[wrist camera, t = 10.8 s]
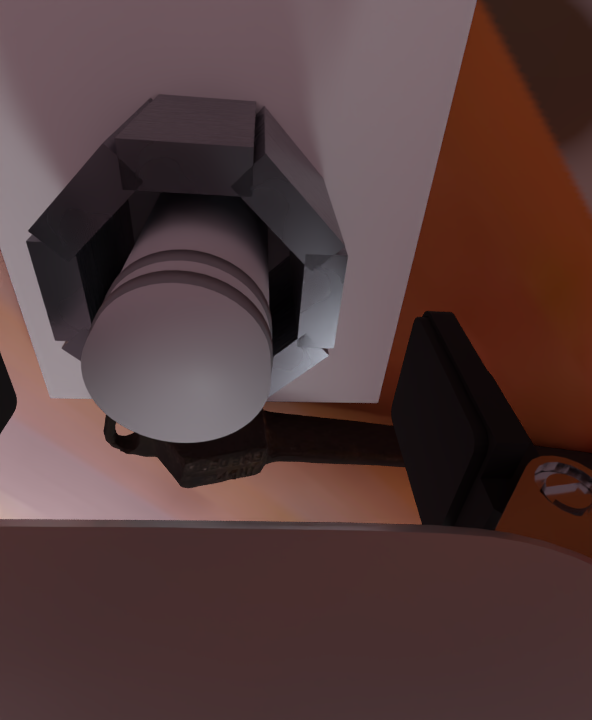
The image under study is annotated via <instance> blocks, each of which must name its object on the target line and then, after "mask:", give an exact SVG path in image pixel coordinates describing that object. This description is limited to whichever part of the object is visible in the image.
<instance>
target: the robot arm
mask: <svg viewBox="0 0 592 720" xmlns="http://www.w3.org/2000/svg"><path fill="white" fill-rule="evenodd" d="M16 405H17V397H16V394H15V391H14V388H13V386H12V383H11V380H10V377H9V375H8V372H7V369H6V367H5V364H4V361H3V359H2V356H1V353H0V433H1V432H2V430H3V429H4V427H5V426H6V424H7V422H8V421H9V419H10V418H11V416H12V415H13V413H14V411H15V409H16ZM391 416H392V422H393V426H394V429H395V433H396V436H397V440H398V443H399V446H400V450H401V453H402V457H403V460H404V464H405V467H406V471H407V474H408V477H409V481H410V484H411V488H412V491H413V495H414V498H415V502H416V505H417V508H418V512H419V515H420V519H421V522H422V525H414V524H380V523H341V522H266V521H180V520H53V519H0V720H592V470H590V469H588V468H587V467H585V466H583V465H582V464H580V463H578V462H575V461H572V460H570V459H567V458H563V457H558V456H540V455H539V453H538V452H537V450H536V448H535V447H534V445H533V443H532V442H531V440H530V438H529V437H528V435H527V433H526V432H525V430H524V428H523V427H522V425H521V423H520V422H519V420H518V418H517V416H516V415H515V413H514V411H513V410H512V408H511V406H510V405H509V403H508V401H507V400H506V398H505V396H504V395H503V393H502V391H501V390H500V388H499V386H498V385H497V383H496V381H495V380H494V378H493V376H492V375H491V374H490V373H489V372H488V371H487V369H486V368H485V366H484V364H483V363H482V361H481V359H480V358H479V356H478V354H477V353H476V351H475V349H474V348H473V346H472V344H471V342H470V341H469V339H468V337H467V336H466V334H465V332H464V331H463V329H462V327H461V326H460V324H459V322H458V321H457V319H456V317H455V316H454V314H453V313H452V312H436V311H426V312H425V313H424V314H423V316H422V317H417V318H416V319H415V320H414V323H413V327H412V331H411V335H410V338H409V342H408V346H407V350H406V354H405V358H404V361H403V365H402V369H401V373H400V377H399V381H398V385H397V388H396V392H395V396H394V400H393V404H392V410H391Z"/></svg>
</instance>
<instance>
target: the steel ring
mask: <svg viewBox="0 0 592 720" xmlns="http://www.w3.org/2000/svg"><path fill="white" fill-rule="evenodd" d="M135 191H152V192H170V193H188V194H206V195H224V196H240V197H241V198H242V199H243V200H244V201H245V202H246V204H247V205H248V206H249V207H250V208H251V209H252V210H253V211H254V212H255V213H256V214H257V215H258V216H259V217H260V218H261V219H262V220H263V221H264V222H265V224H266V225H267V226H268V227H269V228H270V229H271V230H272V231H273V232H274V233H275V234H276V235H277V236H278V237H279V238H280V239H281V240H282V241H283V242H284V243H285V245H286V246H287V247H288V248H289V249H290V250H289V256H288V257H287V258H285V259H284V260H283V261H282V262H281V263H279V264H278V265H277V266H276V267H274V268H273V269H272V270H271V271H270V272H269V308H270V312H271V317H272V343H273V367H272V373H271V386H270V392H269V395H268V397H270V396H271V395H273V394H274V393H276V392H277V391H279V390H280V389H281V388H283V387H284V386H286V385H287V384H289V383H290V382H291V381H293V380H294V379H296V378H297V377H299V376H300V375H302V374H303V373H304V372H306V371H307V370H309V369H310V368H312V367H313V366H315V365H316V364H317V363H319V362H320V361H322V360H323V359H325V358H326V357H328V356H329V353H328V348H334V344H335V337H336V331H337V324H338V318H339V312H340V305H341V299H342V292H343V286H344V279H345V273H346V266H347V260H348V254H347V251H346V248H345V243H344V240H343V237H342V234H341V231H340V228H339V225H338V222H337V219H336V216H335V213H334V210H333V207H332V204H331V200H330V197H329V194H328V191H327V188H326V185H325V182H324V179H323V177H322V176H321V175H320V174H319V172H318V171H317V170H316V169H315V167H314V166H313V165H312V164H311V163H310V161H309V160H308V159H307V158H306V156H305V155H304V154H303V153H302V151H301V150H300V149H299V148H298V147H297V145H296V144H295V143H294V142H293V140H292V139H291V138H290V137H289V135H288V134H287V133H286V132H285V131H284V129H283V128H282V127H281V126H280V124H279V123H278V122H277V121H276V119H275V118H274V117H273V116H272V115H271V113H270V112H269V111H268V110H267V108H266V107H265V106H264V107H263V108H262V109H261V110H260V111H259V112H258V113H257V114H256V101H245V100H231V99H218V98H205V97H191V96H178V95H164V94H159V95H158V96H157V97H156V98H155V99H154V100H152V99H151V98H149V99H148V100H147V101H146V102H145V103H144V104H143V105H142V106H141V107H140V108H139V109H138V110H137V111H136V112H135V113H134V114H133V115H132V116H131V117H129V118H128V119H127V120H126V121H125V122H124V123H123V124H122V125H121V126H120V127H119V128H118V129H117V130H116V131H115V132H114V133H113V134H112V135H111V136H109V137H108V138H107V139H106V140H105V141H104V142H103V143H102V144H101V146H100V147H99V148H98V149H97V150H96V151H95V153H94V154H93V155H92V156H91V157H90V158H89V160H88V161H87V162H86V163H85V164H84V165H83V167H82V168H81V169H80V170H79V171H78V173H77V174H76V175H75V176H74V177H73V178H72V180H71V181H70V182H69V183H68V184H67V185H66V187H65V188H64V189H63V190H62V191H61V192H60V194H59V195H58V196H57V197H56V198H55V199H54V201H53V202H52V203H51V204H50V205H49V206H48V208H47V209H46V210H45V211H44V212H43V213H42V215H41V216H40V217H39V218H38V219H37V221H36V222H35V223H34V224H33V225H32V226H31V228H30V229H29V230H28V232H29V233H31V234H32V235H31V236H30V237H29V238H28V239H27V240H26V244H27V247H28V251H29V254H30V257H31V261H32V264H33V268H34V271H35V274H36V278H37V281H38V285H39V288H40V291H41V295H42V298H43V302H44V305H45V308H46V312H47V315H48V319H49V322H50V326H51V329H52V332H53V336H54V339H55V341H65V343H64V345H63V346H62V348H61V349H63V350H64V351H66V352H67V353H69V354H70V355H72V356H73V357H75V358H77V359H78V360H80V361H81V356H82V351H83V348H84V345H85V342H86V340H87V338H88V335H89V330H90V327H91V325H92V322H93V320H94V318H95V316H96V314H97V312H98V310H99V308H100V307H101V305H102V303H103V301H104V299H105V296H106V294H107V293H108V291H109V289H110V287H111V285H112V283H113V282H114V280H115V278H116V277H117V276H118V275H119V274H120V273H121V271H122V269H123V267H124V265H125V263H126V261H127V259H128V257H129V255H130V253H131V251H132V249H133V247H134V245H135V243H134V236H133V229H132V222H131V215H130V208H129V201H128V198H129V197H130V196H131V195H132V194H133V193H134V192H135Z"/></svg>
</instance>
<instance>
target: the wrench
mask: <svg viewBox="0 0 592 720" xmlns="http://www.w3.org/2000/svg"><path fill="white" fill-rule="evenodd" d="M115 424H116V421H114V420H113V419H111V418H110V417H109V416H108V415H107V414H106V418H105V426H104V435H105V439H106V441H107V442H108V443H109V444H110V445H111V446H112V447H115V448H117V449H120V451H123V452H125V453H126V454H136V455H140V456H145V457H158V459H159V460H160V461H161V462H162V463H163V465H164V466H165V467H166V468H167V469H168V471H169V472H170V473H171V474H172V475H173V477H174V478H175V479H176V480H177V482H178V483H179V485H180V486H181V487H184V488H193V487H197V486H202V485H208V484H213V483H218V482H223V481H226V480H230V479H236V478H241V477H246V476H252V475H256V474H258V473H260V472H261V470H262V468H263V467H264V466H265V464H268V463H271V462H276V461H288V462H310V463H329V464H358V465H381V466H395V467H405V464H404V460H403V457H402V453H401V450H400V446H399V443H398V440H397V436H396V433H395V429H394V426H389V425H382V424H373V423H366V422H357V421H348V420H340V419H330V418H320V417H312V416H302V415H293V414H284V413H275V412H268V411H264V410H263V409H261V411H260V412H259V413H258V415H257V416H256V417H255V418H254V419H253V420H252V421H250V422H249V423H248V424H247V425H245V426H244V427H242V428H241V429H239V430H237V431H236V432H233V433H232V434H229V435H227V436H224V437H221V438H218V439H214V440H209V441H204V442H196V443H178V442H168V441H162V440H157V439H153V438H150V437H146V436H143V435H140V434H138V433H136V432H134V433H132V434H130V435H127V436H120V435H118V434H117V433H116V430H115ZM534 447H535V448H536V450H537V452H538V453H539V455H540V456H558V457H563V458H567V459H570V460H572V461H575V462H578V463H580V464H582V465H583V466H585V467H587V468H588V469H590V470H592V453H585V452H578V451H570V450H563V449H556V448H547V447H540V446H534Z"/></svg>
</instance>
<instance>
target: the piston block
mask: <svg viewBox="0 0 592 720" xmlns="http://www.w3.org/2000/svg"><path fill="white" fill-rule="evenodd" d="M476 2H477V0H0V249H1V252H2V255H3V258H4V261H5V264H6V267H7V270H8V273H9V276H10V279H11V282H12V285H13V288H14V291H15V294H16V297H17V300H18V303H19V306H20V309H21V312H22V315H23V318H24V321H25V324H26V327H27V330H28V333H29V336H30V339H31V341H32V344H33V347H34V350H35V353H36V356H37V359H38V362H39V365H40V368H41V371H42V374H43V377H44V380H45V383H46V386H47V389H48V392H49V395H50V398H74V399H93V400H94V401H95V403H96V404H97V405H98V406H99V407H100V409H101V410H102V411H103V412H104V413H106V414H107V415H108V416H109V417H110V418H111V419H113V420H114V421H116V422H117V423H119V424H120V425H122V426H124V427H125V428H127V429H129V430H131V431H133V432H136V433H138V434H140V435H143V436H146V437H150V438H153V439H157V440H162V441H168V442H178V443H196V442H204V441H209V440H214V439H218V438H221V437H224V436H227V435H229V434H231V433H233V432H236V431H237V430H239V429H241V428H242V427H244V426H245V425H247V424H248V423H249V422H250V421H252V420H253V419H254V418H255V417H256V416H257V415H258V413H259V412H260V411H261V409H262V408H263V406H264V404H265V402H266V401H273V402H339V403H378V401H379V397H380V392H381V388H382V384H383V380H384V376H385V372H386V368H387V364H388V360H389V356H390V352H391V348H392V344H393V340H394V335H395V331H396V327H397V323H398V319H399V315H400V311H401V307H402V303H403V299H404V295H405V291H406V287H407V283H408V279H409V274H410V270H411V266H412V262H413V258H414V254H415V250H416V246H417V242H418V238H419V234H420V230H421V226H422V222H423V217H424V213H425V209H426V205H427V201H428V197H429V193H430V189H431V185H432V181H433V177H434V173H435V169H436V165H437V160H438V156H439V152H440V148H441V144H442V140H443V136H444V132H445V128H446V124H447V120H448V116H449V112H450V108H451V104H452V99H453V95H454V91H455V87H456V83H457V79H458V75H459V71H460V67H461V63H462V59H463V55H464V51H465V47H466V42H467V38H468V34H469V30H470V26H471V22H472V18H473V14H474V10H475V6H476ZM159 94H164V95H178V96H191V97H205V98H218V99H231V100H245V101H256V114H257V113H258V112H259V111H260V110H261V109H262V108H263V107H264V106H265V107H266V108H267V110H268V111H269V112H270V113H271V115H272V116H273V117H274V118H275V119H276V121H277V122H278V123H279V124H280V126H281V127H282V128H283V129H284V131H285V132H286V133H287V134H288V135H289V137H290V138H291V139H292V140H293V142H294V143H295V144H296V145H297V147H298V148H299V149H300V150H301V151H302V153H303V154H304V155H305V156H306V158H307V159H308V160H309V161H310V163H311V164H312V165H313V166H314V167H315V169H316V170H317V171H318V172H319V174H320V175H321V176H322V177H323V179H324V182H325V185H326V188H327V191H328V194H329V197H330V200H331V204H332V207H333V210H334V213H335V216H336V219H337V222H338V225H339V228H340V231H341V234H342V237H343V240H344V243H345V248H346V251H347V254H348V260H347V266H346V273H345V279H344V286H343V292H342V299H341V305H340V312H339V318H338V324H337V331H336V337H335V344H334V348H328V353H329V356H328V357H326V358H325V359H323V360H322V361H320V362H319V363H317V364H316V365H315V366H313V367H312V368H310V369H309V370H307V371H306V372H304V373H303V374H302V375H300V376H299V377H297V378H296V379H294V380H293V381H291V382H290V383H289V384H287V385H286V386H284V387H283V388H281V389H280V390H279V391H277V392H276V393H274V394H273V395H271V396H270V397H268V395H269V392H270V386H271V373H272V367H273V343H272V317H271V312H270V308H269V272H270V271H271V270H272V269H273V268H274V267H276V266H277V265H278V264H279V263H281V262H282V261H283V260H284V259H285V258H287V257H288V256H289V250H290V249H289V248H288V247H287V246H286V245H285V243H284V242H283V241H282V240H281V239H280V238H279V237H278V236H277V235H276V234H275V233H274V232H273V231H272V230H271V229H270V228H269V227H268V226H267V225H266V224H265V222H264V221H263V220H262V219H261V218H260V217H259V216H258V215H257V214H256V213H255V212H254V211H253V210H252V209H251V208H250V207H249V206H248V205H247V204H246V202H245V201H244V200H243V199H242V198H241V197H240V196H224V195H206V194H188V193H170V192H152V191H135V192H134V193H133V194H132V195H131V196H130V197H129V198H128V201H129V208H130V215H131V222H132V229H133V236H134V243H135V245H134V247H133V249H132V251H131V253H130V255H129V257H128V259H127V261H126V263H125V265H124V267H123V269H122V271H121V273H120V274H119V275H118V276H117V277H116V278H115V280H114V282H113V283H112V285H111V287H110V289H109V291H108V293H107V294H106V296H105V299H104V301H103V303H102V305H101V307H100V308H99V310H98V312H97V314H96V316H95V318H94V320H93V322H92V325H91V327H90V330H89V335H88V338H87V340H86V342H85V345H84V348H83V351H82V356H81V361H80V360H78V359H77V358H75V357H73V356H72V355H70V354H69V353H67V352H66V351H64V350H63V349H61V348H62V346H63V345H64V343H65V341H55V339H54V336H53V332H52V329H51V326H50V322H49V319H48V315H47V312H46V308H45V305H44V302H43V298H42V295H41V291H40V288H39V285H38V281H37V278H36V274H35V271H34V268H33V264H32V261H31V257H30V254H29V251H28V247H27V244H26V240H27V239H28V238H29V237H30V236H31V235H32V234H31V233H29V232H28V230H29V229H30V228H31V226H32V225H33V224H34V223H35V222H36V221H37V219H38V218H39V217H40V216H41V215H42V213H43V212H44V211H45V210H46V209H47V208H48V206H49V205H50V204H51V203H52V202H53V201H54V199H55V198H56V197H57V196H58V195H59V194H60V192H61V191H62V190H63V189H64V188H65V187H66V185H67V184H68V183H69V182H70V181H71V180H72V178H73V177H74V176H75V175H76V174H77V173H78V171H79V170H80V169H81V168H82V167H83V165H84V164H85V163H86V162H87V161H88V160H89V158H90V157H91V156H92V155H93V154H94V153H95V151H96V150H97V149H98V148H99V147H100V146H101V144H102V143H103V142H104V141H105V140H106V139H107V138H108V137H109V136H111V135H112V134H113V133H114V132H115V131H116V130H117V129H118V128H119V127H120V126H121V125H122V124H123V123H124V122H125V121H126V120H127V119H128V118H129V117H131V116H132V115H133V114H134V113H135V112H136V111H137V110H138V109H139V108H140V107H141V106H142V105H143V104H144V103H145V102H146V101H147V100H148V99H149V98H151V99H152V100H154V99H155V98H156V97H157V96H158V95H159Z"/></svg>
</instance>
